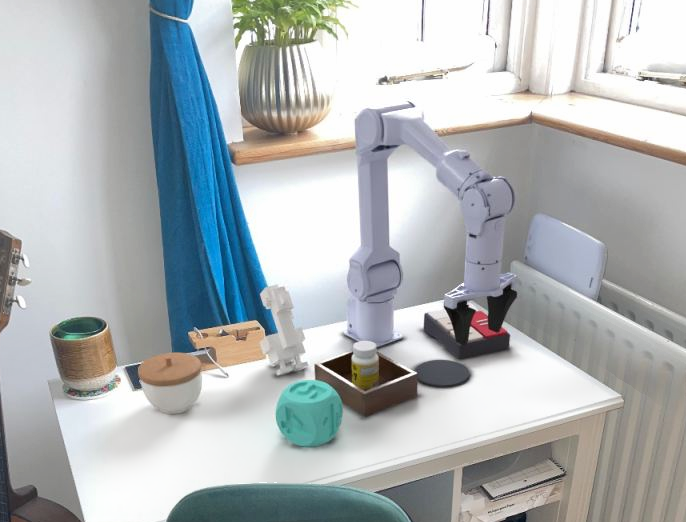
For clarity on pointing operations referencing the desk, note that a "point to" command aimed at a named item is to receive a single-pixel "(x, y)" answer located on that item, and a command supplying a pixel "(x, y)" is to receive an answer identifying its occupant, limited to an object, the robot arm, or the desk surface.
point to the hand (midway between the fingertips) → (477, 336)
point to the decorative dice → (309, 413)
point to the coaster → (442, 373)
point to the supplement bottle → (365, 365)
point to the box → (392, 389)
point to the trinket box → (171, 381)
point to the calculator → (479, 334)
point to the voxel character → (282, 331)
